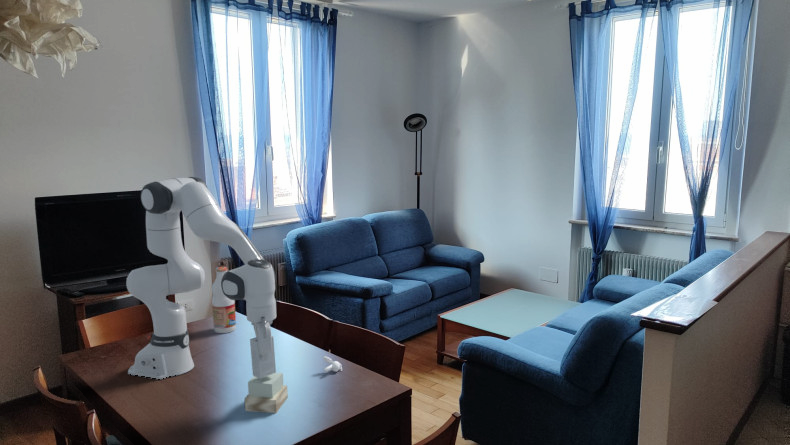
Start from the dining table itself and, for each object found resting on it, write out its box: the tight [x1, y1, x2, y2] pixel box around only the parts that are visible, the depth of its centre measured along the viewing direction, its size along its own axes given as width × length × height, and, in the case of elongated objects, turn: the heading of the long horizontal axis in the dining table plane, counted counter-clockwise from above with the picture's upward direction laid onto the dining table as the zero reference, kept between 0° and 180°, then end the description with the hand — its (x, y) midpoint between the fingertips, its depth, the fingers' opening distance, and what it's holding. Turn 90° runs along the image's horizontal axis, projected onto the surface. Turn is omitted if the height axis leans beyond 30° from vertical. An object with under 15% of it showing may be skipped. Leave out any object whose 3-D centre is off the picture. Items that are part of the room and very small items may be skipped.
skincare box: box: [249, 335, 277, 379], centre depth 167 cm, size 6×4×12 cm
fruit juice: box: [211, 266, 237, 334], centre depth 235 cm, size 9×9×28 cm
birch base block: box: [244, 384, 289, 414], centre depth 170 cm, size 10×10×4 cm
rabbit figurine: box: [322, 355, 343, 373], centre depth 193 cm, size 6×4×8 cm
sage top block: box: [247, 372, 284, 398], centre depth 170 cm, size 8×8×4 cm
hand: (263, 355), depth 168 cm, fingers closed on skincare box, 6 cm apart
